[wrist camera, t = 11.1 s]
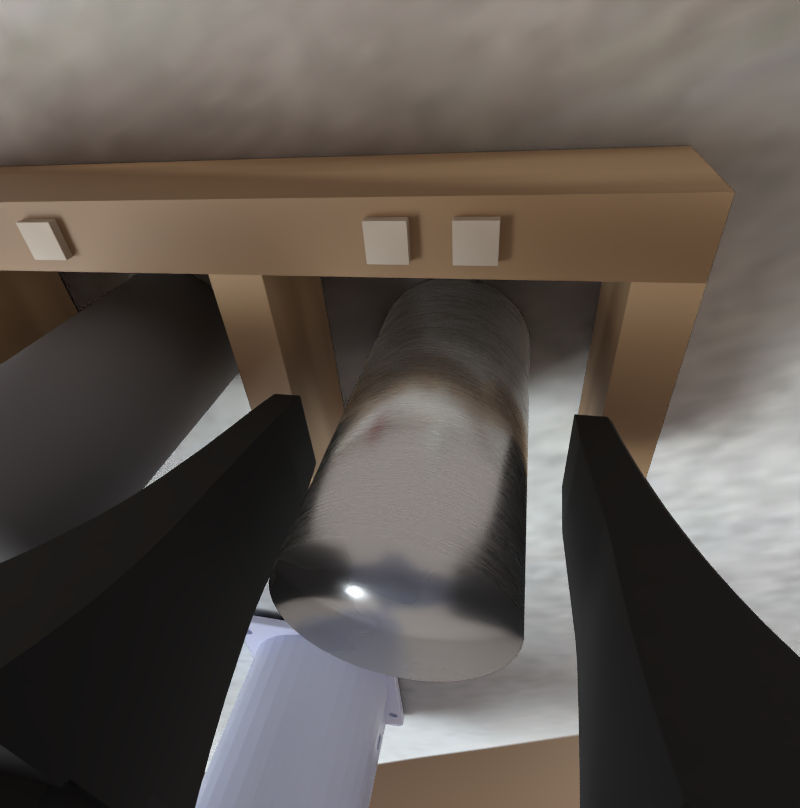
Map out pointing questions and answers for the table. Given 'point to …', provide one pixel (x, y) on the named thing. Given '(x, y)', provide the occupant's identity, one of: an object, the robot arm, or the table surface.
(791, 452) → the table surface
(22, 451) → the dark grey cylinder
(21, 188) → the rack
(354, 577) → the grey rod
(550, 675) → the table surface
